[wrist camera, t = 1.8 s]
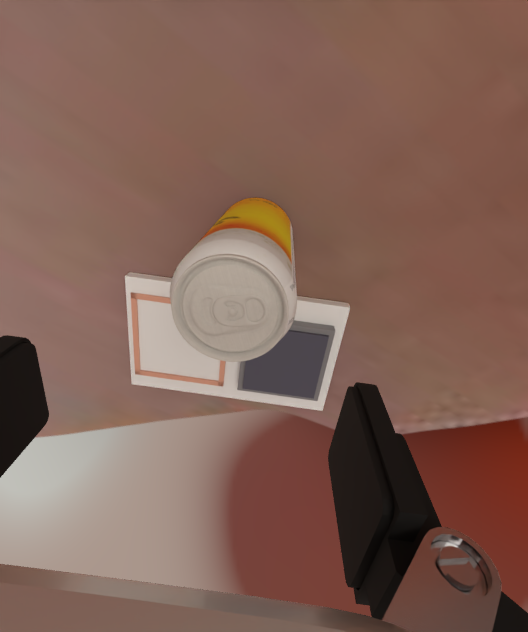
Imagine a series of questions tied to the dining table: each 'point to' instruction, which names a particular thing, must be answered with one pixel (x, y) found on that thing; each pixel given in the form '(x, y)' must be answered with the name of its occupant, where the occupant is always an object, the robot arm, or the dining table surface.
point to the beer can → (238, 284)
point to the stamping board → (233, 377)
